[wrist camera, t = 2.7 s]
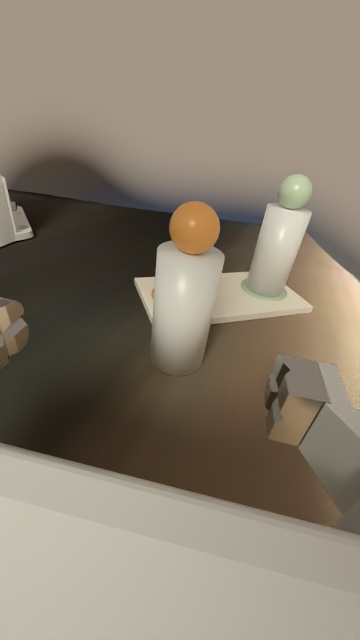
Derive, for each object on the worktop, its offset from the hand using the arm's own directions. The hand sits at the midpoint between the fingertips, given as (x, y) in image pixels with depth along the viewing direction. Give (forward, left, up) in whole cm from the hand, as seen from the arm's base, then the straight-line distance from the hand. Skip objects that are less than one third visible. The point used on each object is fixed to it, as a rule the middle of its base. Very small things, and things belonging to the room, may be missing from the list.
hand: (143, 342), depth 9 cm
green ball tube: (-20, +21, -11) cm, 31 cm away
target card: (-20, +15, -12) cm, 28 cm away
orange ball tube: (-11, +6, -12) cm, 17 cm away
